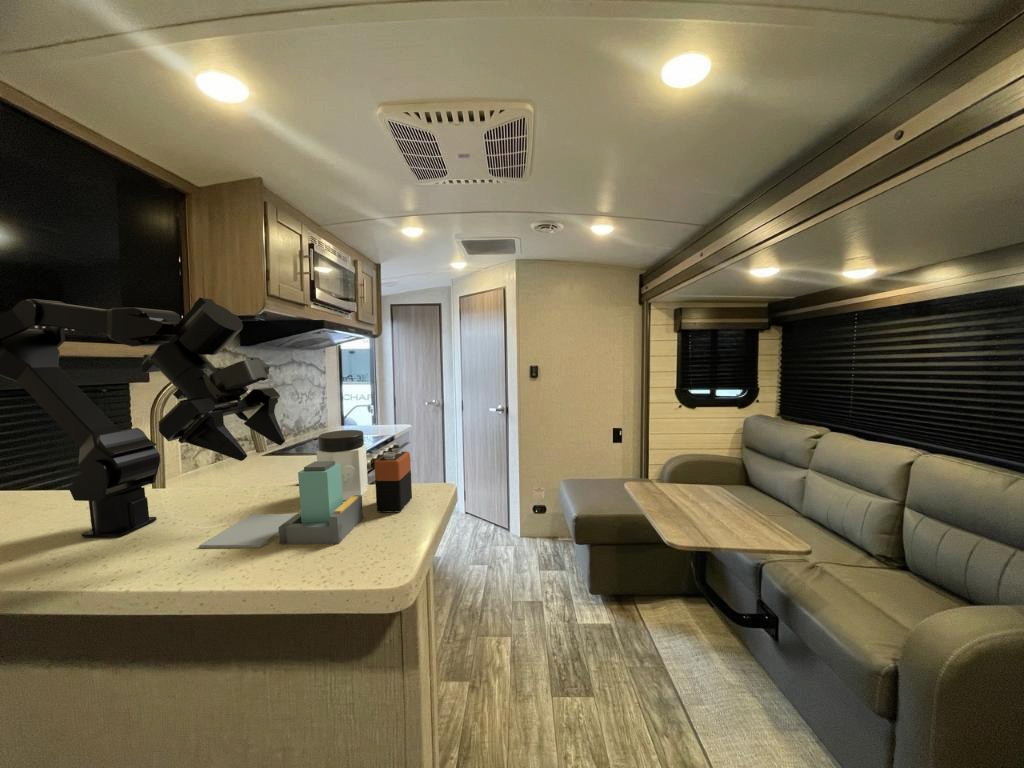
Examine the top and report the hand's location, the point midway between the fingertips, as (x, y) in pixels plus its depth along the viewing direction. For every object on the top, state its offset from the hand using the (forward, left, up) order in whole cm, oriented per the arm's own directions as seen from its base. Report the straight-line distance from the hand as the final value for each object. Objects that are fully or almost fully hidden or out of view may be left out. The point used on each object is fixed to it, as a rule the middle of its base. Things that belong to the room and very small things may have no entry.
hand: (265, 450), depth 63 cm
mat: (-2, 0, -13) cm, 13 cm away
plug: (+9, 0, -13) cm, 15 cm away
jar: (+5, +16, -13) cm, 21 cm away
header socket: (+9, 0, -13) cm, 15 cm away
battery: (+17, +10, -13) cm, 23 cm away
